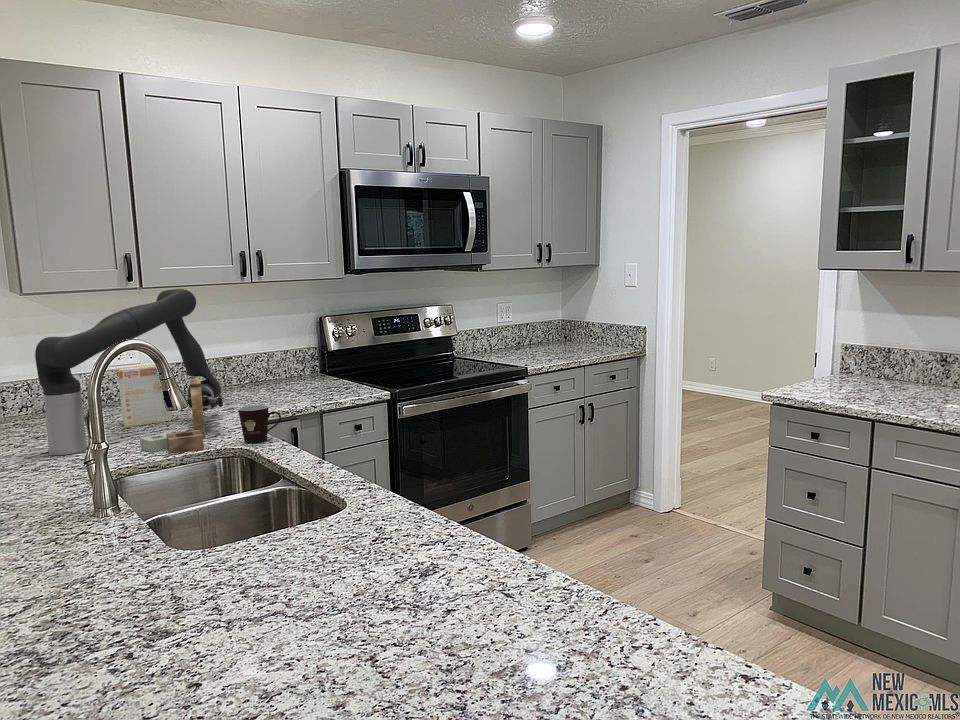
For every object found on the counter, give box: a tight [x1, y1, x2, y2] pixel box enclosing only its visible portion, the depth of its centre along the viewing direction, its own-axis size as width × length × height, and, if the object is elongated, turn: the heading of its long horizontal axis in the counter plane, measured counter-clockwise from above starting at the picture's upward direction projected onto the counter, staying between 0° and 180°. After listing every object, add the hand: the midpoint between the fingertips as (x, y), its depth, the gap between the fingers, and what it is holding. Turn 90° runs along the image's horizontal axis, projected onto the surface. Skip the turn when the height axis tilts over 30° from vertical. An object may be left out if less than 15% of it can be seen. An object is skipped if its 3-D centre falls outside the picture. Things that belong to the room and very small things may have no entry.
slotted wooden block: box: [165, 429, 205, 455], centre depth 205 cm, size 9×9×4 cm
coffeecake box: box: [117, 364, 174, 428], centre depth 243 cm, size 15×7×20 cm, turn 123°
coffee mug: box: [237, 404, 282, 445], centre depth 210 cm, size 12×9×10 cm
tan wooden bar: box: [189, 378, 206, 440], centre depth 216 cm, size 3×3×18 cm
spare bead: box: [139, 432, 168, 453], centre depth 207 cm, size 7×7×3 cm
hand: (196, 406), depth 215 cm, fingers open, 8 cm apart
